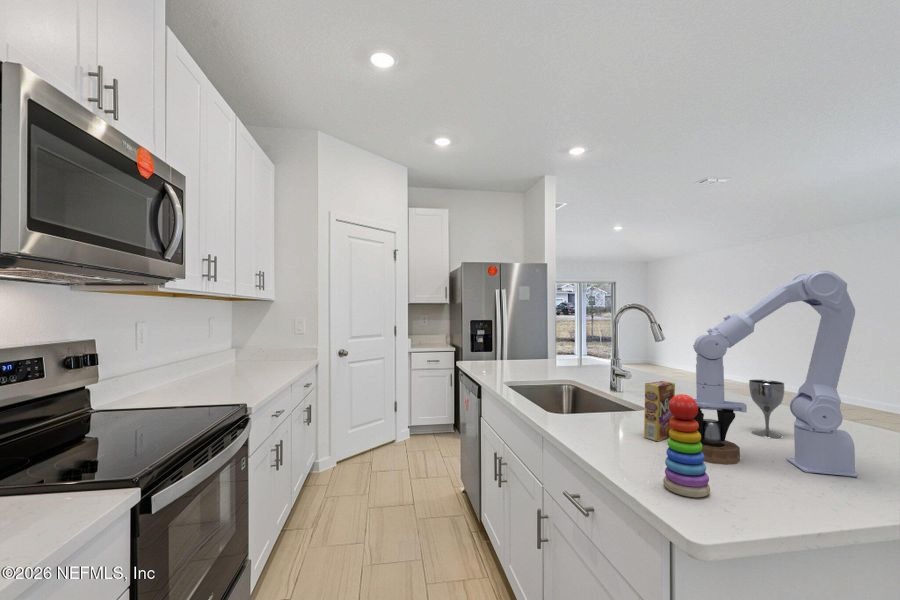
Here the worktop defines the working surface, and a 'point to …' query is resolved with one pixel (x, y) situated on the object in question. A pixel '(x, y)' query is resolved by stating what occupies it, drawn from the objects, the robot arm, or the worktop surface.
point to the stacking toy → (685, 451)
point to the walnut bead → (721, 453)
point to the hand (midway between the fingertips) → (711, 439)
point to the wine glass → (766, 401)
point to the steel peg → (711, 433)
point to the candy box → (658, 410)
